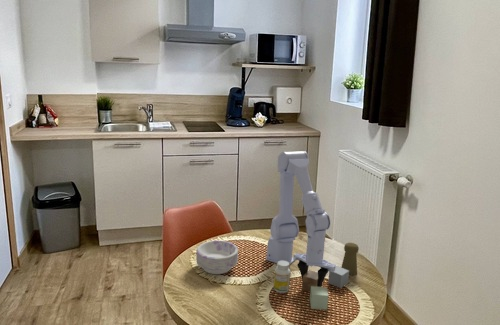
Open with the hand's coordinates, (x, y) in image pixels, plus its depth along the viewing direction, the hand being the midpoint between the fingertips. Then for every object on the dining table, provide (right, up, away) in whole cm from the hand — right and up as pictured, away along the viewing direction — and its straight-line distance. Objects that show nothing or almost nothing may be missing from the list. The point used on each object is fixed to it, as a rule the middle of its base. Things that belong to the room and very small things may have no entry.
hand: (311, 284), depth 141 cm
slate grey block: (+10, -1, +5) cm, 11 cm away
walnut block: (0, -1, 0) cm, 1 cm away
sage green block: (+1, -4, -9) cm, 10 cm away
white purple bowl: (-33, +3, +11) cm, 35 cm away
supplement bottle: (-11, -1, -1) cm, 11 cm away
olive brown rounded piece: (+16, +1, +14) cm, 21 cm away
